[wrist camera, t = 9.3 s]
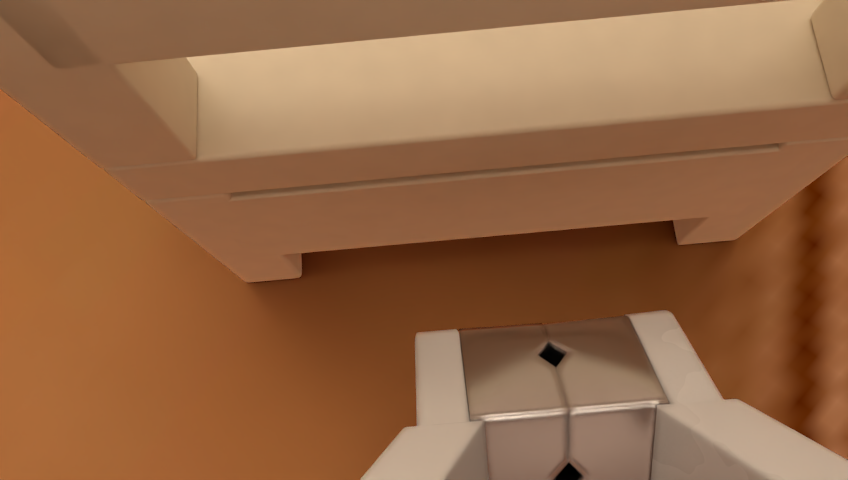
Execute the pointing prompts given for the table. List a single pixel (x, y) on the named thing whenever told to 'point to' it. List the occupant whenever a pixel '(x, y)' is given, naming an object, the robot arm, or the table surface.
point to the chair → (436, 114)
